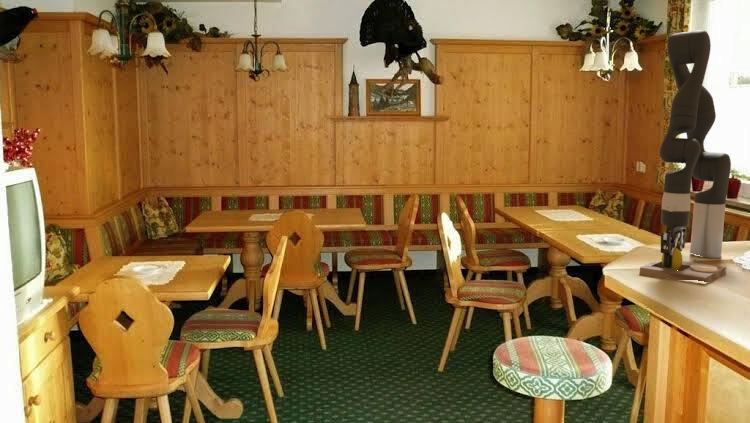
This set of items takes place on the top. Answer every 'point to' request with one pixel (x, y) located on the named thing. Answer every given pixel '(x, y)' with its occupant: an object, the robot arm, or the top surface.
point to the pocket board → (681, 272)
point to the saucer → (703, 268)
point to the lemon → (675, 259)
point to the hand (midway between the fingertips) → (671, 265)
